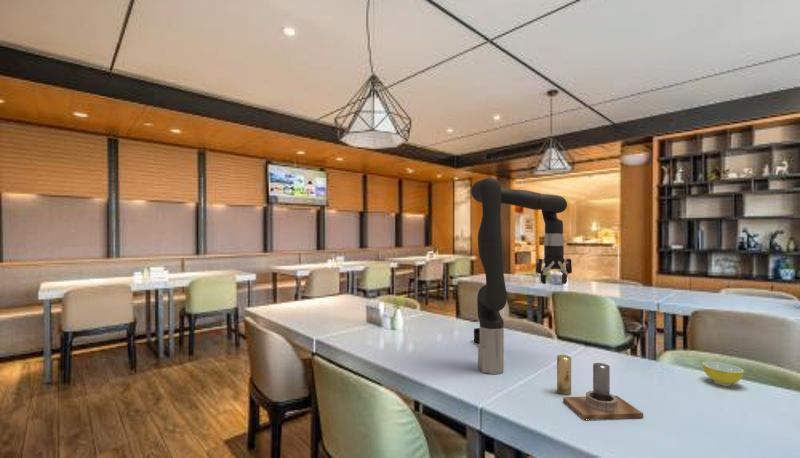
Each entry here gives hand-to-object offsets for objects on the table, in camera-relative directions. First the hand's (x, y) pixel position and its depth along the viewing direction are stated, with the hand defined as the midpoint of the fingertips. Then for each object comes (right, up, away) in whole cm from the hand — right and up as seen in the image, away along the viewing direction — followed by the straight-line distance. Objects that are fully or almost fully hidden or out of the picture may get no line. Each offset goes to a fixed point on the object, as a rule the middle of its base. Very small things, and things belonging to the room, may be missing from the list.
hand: (553, 283), depth 157 cm
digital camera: (-24, -34, +26) cm, 49 cm away
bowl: (+53, -33, -20) cm, 65 cm away
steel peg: (-2, -31, -40) cm, 51 cm away
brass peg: (-8, -33, -28) cm, 44 cm away
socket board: (-2, -33, -41) cm, 52 cm away
